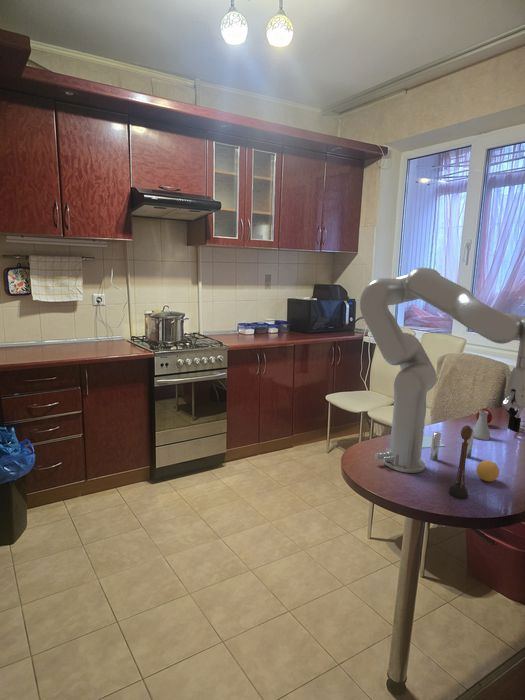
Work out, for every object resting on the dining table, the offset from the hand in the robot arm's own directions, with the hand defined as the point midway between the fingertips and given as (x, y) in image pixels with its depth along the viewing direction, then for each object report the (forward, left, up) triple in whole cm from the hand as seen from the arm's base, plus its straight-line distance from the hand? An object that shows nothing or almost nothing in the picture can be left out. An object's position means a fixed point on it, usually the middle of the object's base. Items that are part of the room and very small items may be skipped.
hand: (522, 429), depth 119 cm
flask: (+25, +41, -20) cm, 52 cm away
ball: (0, +10, -16) cm, 19 cm away
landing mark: (0, +40, -19) cm, 44 cm away
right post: (+6, +26, -19) cm, 33 cm away
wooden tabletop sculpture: (-14, +4, -20) cm, 25 cm away
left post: (-6, +26, -19) cm, 33 cm away
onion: (+36, +52, -20) cm, 66 cm away
